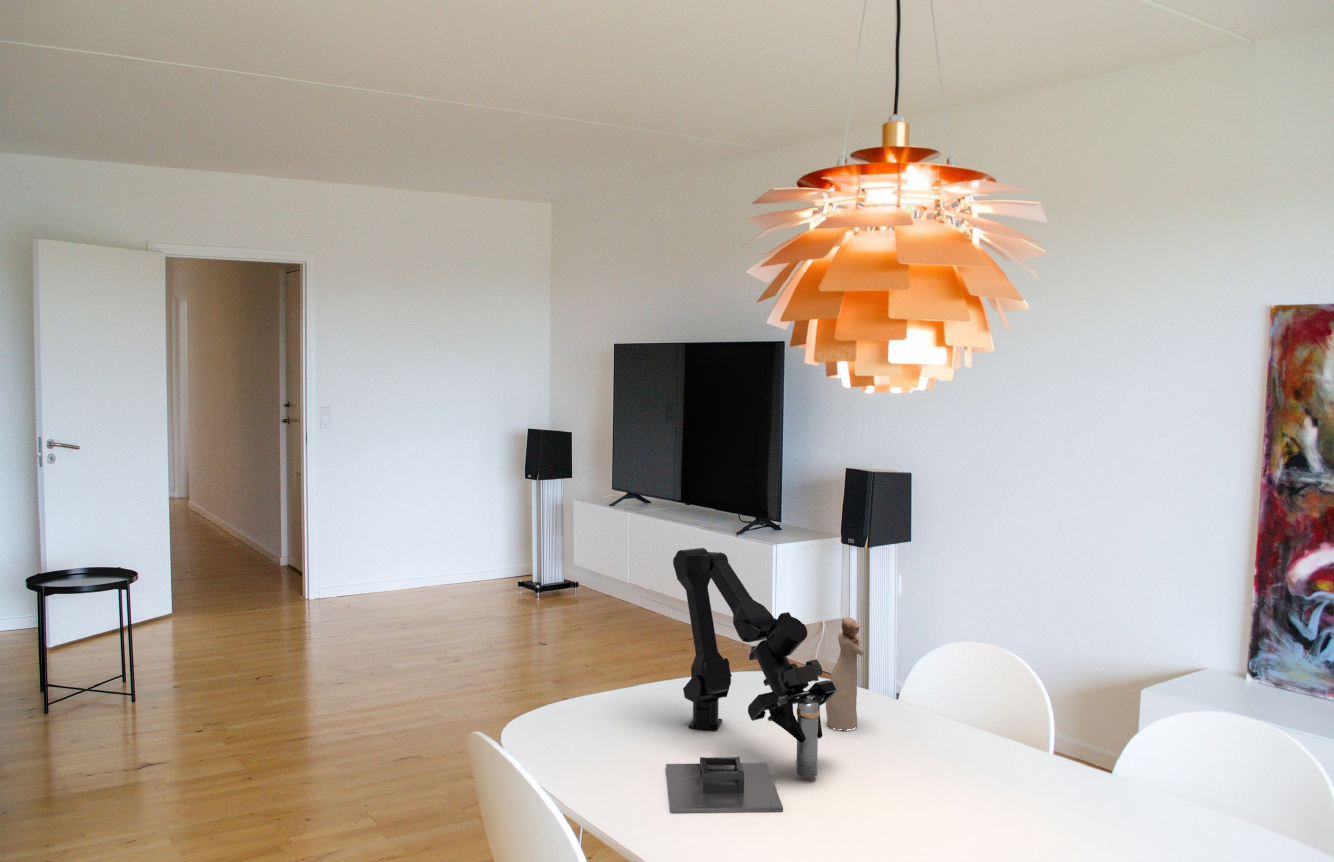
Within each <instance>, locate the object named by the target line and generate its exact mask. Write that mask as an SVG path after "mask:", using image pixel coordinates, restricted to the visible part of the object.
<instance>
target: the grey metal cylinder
mask: <svg viewBox="0 0 1334 862" xmlns="http://www.w3.org/2000/svg"><path fill="white" fill-rule="evenodd" d="M796 706H797V708H796V720H797V722H798V724H799V726H800V728H801V730H802V733H803V735H804V738H805V741H804V742H803V743H801V742H799V741H798V740H797V739H796V763H795V765H796V766H795V767H796V769H795V774H796V775H797V776H799V777H801V778H807V779H811V778H815V777H817V775H818V753H819V752H818V751H819V750H818V749H819V748H818V747H819V745H818V744H819V738H818V717H819V709H818V706H819V703H818V701H816V700H813V699H800V700H798V703H797V705H796Z"/></svg>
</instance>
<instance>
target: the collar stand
mask: <svg viewBox="0 0 1334 862" xmlns="http://www.w3.org/2000/svg"><path fill="white" fill-rule="evenodd" d="M665 771H666V779H667V790H668V799H669V808H670V814H685V813H686V814H690V813H691V814H693V813H694V814H695V813H698V814H699V813H702V814H703V813H704V814H705V813H707V814H708V813H709V814H711V813H779V812H780V813H782V812H784V806H783V803H782V801H781V798H780V796H779V793H778V790H777V788H776V785H775V782H774V779H773V776H772V775H771V772H770V769H769V765H768V763H767V762H742V763H741V757H739V756H733V757H731V756H730V757H726V756H725V757H717V756H716V757H701V756H700V757H699V763H666V764H665Z"/></svg>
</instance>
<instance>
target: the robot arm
mask: <svg viewBox="0 0 1334 862" xmlns="http://www.w3.org/2000/svg"><path fill="white" fill-rule="evenodd" d="M672 560H673V561H672V565H673V568H674V572H675V577H676V579H677V581H678V582H679V583H680V585H682V587H683V588H684V590H685V592H686V593H685V594H686V599H687V606H688V611H689V613H688V614H689V618H690V619H689V620H690V625H691V631H692V632H691V633H692V637H693V638H692V639H693V644H694V645H693V646H694V651H695V655H694V659H693V661H692V664H691V666H690V674H691V676H690V677H691V678H690V680H688V682H687V683H686V684H685V686H684V687H683V688H682V689H683V690H682V691H683V696H684V698H685V699H686V700H687V701H690V702H691V703H692V719H691V721H690V723H689V724H688V726H687V727H688V728H689V729H696V730H697V729H698V730H707V731H718V729H719V728H720V727H721V725H722V723H723V719H722V718H719V701H720V699H722V698H727V697H728V694H729V691H730V687H731V684H732V677H733V675H732V673H731V667H730V661H729V659H728V658H727V657H726V658H724V657H723V656H722V655H721V653H720V652H719V650H718V642H717V638H716V637H717V636H716V630H715V624H714V618H713V613H712V605H711V599H710V593H709V584H710V582H711V580H712V582H713V583H714V585H715V586H716V588H717V590H718V592H719V593H720V594H721V596H722V598H723V599H724V601H725V602H726V604H727V606H729V608H730V611H731V612H732V615H733V617H732V624H733V627H734V629H735V631H736V632H737V635H738V636H739V638H740V640H741V641H742V642H743V643H753V642H754V643H755V642H759V641H760V642H759V643H758V644H757V645H753V646H751V649H750V653H749V656H748V657H749V658H748V659H749V661H753V660H754V661H757V662H758V665H759V667H760V669H761V670H762V673H763V675H764V677H765V678H764V680H763V681H762V682H763V684H764V686H765V687H766V686H769V687H770V689H771V691H769V692H765V693H760V694H758V695H757V696H756V697H755V698H754V699H753V700H752V702H751V703H749V705H748V707H747V713H748V716H749V718H750V720H751V721H758V720H762V719H764V718H765V716H766V714H767V713H766V711H769V712H768V713H769V714H770V715H769V716H768V717H767V720H768V722H773V723H774V724H776V725H778V726H779V727H781V728H782V729H783V730H785V731H786V732H787V733H788V734H790V736H792V737H794V738H795V739H796V741H797V740H798V741H799V742H801V743H803V742H804V741H805V738H804V735H803V733H802V730H801V728H800V726H799V724H798V722H797V717H796V716H795V714H794V705H796V704H798V700H800V699H813V700H816V701H818V703H819V706H818V709H819V717H818V740H819V739H821V738H822V737H824V736H823V730H822V722H821V713H820V710H821V709H820V706H823V705H824V704H826V701H828V700H829V699H830V698H831V697H832V696H833V695H834V694H835V693H836V692H837V690H836V688H835V686H834V684H833V682H831V681H830V679H825V680H822V681H819V676H822V675H823V672H824V671H823V668H822V665H821V664H820V662H819V660H818V659H810V660H807V661H805V665H804V666H800V667H798V665H797V664H796V663H791V662H790V659H789V658H788V656H791V655H792V654H793V653H794V652H795V651H796V649H797V648H798V647H800V645H801V644H802V643H803V642H804V641H805V640H806V639H807V637H808V629H807V626H806V625H805V624H804V623H803V622H802V621H801V620H800V619H798V618H797V617H795V616H792V615H791V613H790V612H789V611H788V612H782V613H780V614H779V615H778V617H777V618H775V617H774V616H773V614H771V612H770V611H769V610H768V609H767V608H766V607H765V605H763V604H762V603H760V602H758V601H756V600H754V599H753V597H752V596H751V595H750V593H749V592H748V590H747V589H746V587H745V586H744V584H743V583H742V581H741V579H740V578H739V577H738V575H737V574H736V572H735V571H734V569H733V568H732V566H731V564H730V563H729V558H728V556H727V554H726V553H724V552H716V551H714V552H713V551H712V552H711V551H708V550H707V549H706V548H704V547H699V548H698V547H697V548H689V549H688V548H687V549H680V550H678V551H677V552H676V553H675V556H674V557H673V559H672ZM810 682H814V684H812V685H811V687H809V685H810V684H809V683H810ZM807 687H809V689H807ZM805 689H807V690H805Z"/></svg>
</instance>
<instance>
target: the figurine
mask: <svg viewBox="0 0 1334 862" xmlns="http://www.w3.org/2000/svg"><path fill="white" fill-rule="evenodd" d="M840 625H841V630H840V631H839V633H838V635H837V638H838V639H837V640H838V644H839V647H840V652H839V655H838V658H837V660H836V663H835V664H834V667H833V669H832V671H831V674H830V679H829V681H831V682H833V684H834V686H835V688H836V690H837V692H836V693H835V694H834V695H833V696H832V697H831V698H830V699H829V700H828V701H826V702H825V712H826V717H827V725H828V724H829V726H830V727H832V728H835V729H842V730H847V729H853V728H855V727H856V726H857V727H858V715H857V714H858V713H857V703H858V702H857V699H858V698H857V695H858V655H859V656H861V657H862V656H863V655H864V646H863V645H862V641H861V638H860V636H859V634H858V633H859V632H860V627H861V626H860V624H859V622H857V620H856V619H854V618H853V617H846V618H843V617H842V618H841V624H840ZM829 726H828V727H829ZM830 727H829V728H830ZM832 728H831V729H832Z"/></svg>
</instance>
